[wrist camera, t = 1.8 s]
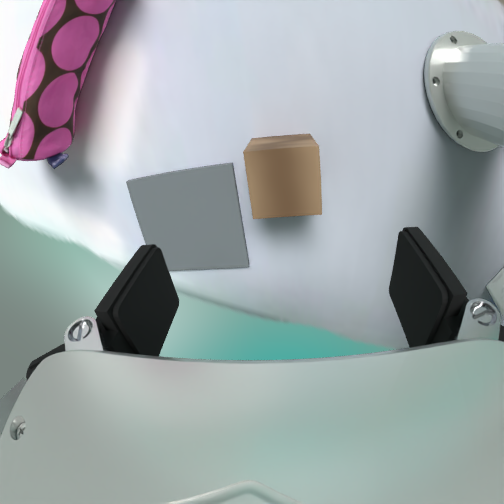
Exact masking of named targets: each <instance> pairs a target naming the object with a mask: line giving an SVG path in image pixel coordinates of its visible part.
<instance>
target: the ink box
mask: <svg viewBox="0 0 504 504" xmlns="http://www.w3.org/2000/svg"><path fill="white" fill-rule="evenodd" d="M486 288H487V289H488V291H489V293H490V295H491V297H492V298H493V300H494V302H495V304H496V306H497V308H498V309H499V311H500V313H501V315H502V316H503V318H504V267H503V268H502V270H501V271H500V272H499V273H498V274H497V275H496V276H495V277H494V278H493V279H492V280H491V281H490V282H489V283H488V285H487V286H486Z"/></svg>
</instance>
